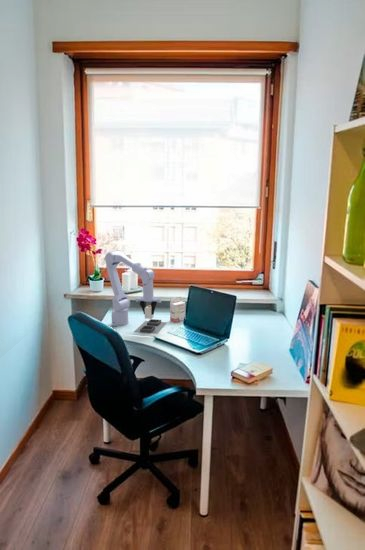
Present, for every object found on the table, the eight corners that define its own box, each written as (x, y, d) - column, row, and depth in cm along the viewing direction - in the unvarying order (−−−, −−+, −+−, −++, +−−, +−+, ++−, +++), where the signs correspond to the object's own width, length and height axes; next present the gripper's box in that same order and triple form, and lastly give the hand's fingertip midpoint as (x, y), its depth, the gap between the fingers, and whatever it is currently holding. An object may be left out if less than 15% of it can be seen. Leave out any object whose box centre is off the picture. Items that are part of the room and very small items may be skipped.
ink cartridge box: (175, 323, 245) (174, 300, 242) (170, 321, 249) (169, 298, 246) (186, 320, 250) (185, 297, 247) (180, 318, 254) (180, 295, 251)
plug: (144, 318, 232) (144, 306, 230) (146, 316, 235) (146, 305, 234) (151, 318, 231) (151, 307, 229) (153, 316, 234) (153, 305, 233)
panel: (133, 333, 229) (133, 329, 229) (145, 322, 248) (145, 318, 248) (157, 335, 226) (157, 330, 226) (167, 323, 245) (167, 319, 245)
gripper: (133, 292, 227) (134, 315, 230) (158, 293, 224) (159, 316, 227) (137, 289, 234) (138, 311, 237) (162, 290, 231) (162, 313, 233)
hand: (148, 314), depth 232 cm, fingers closed on plug, 4 cm apart
